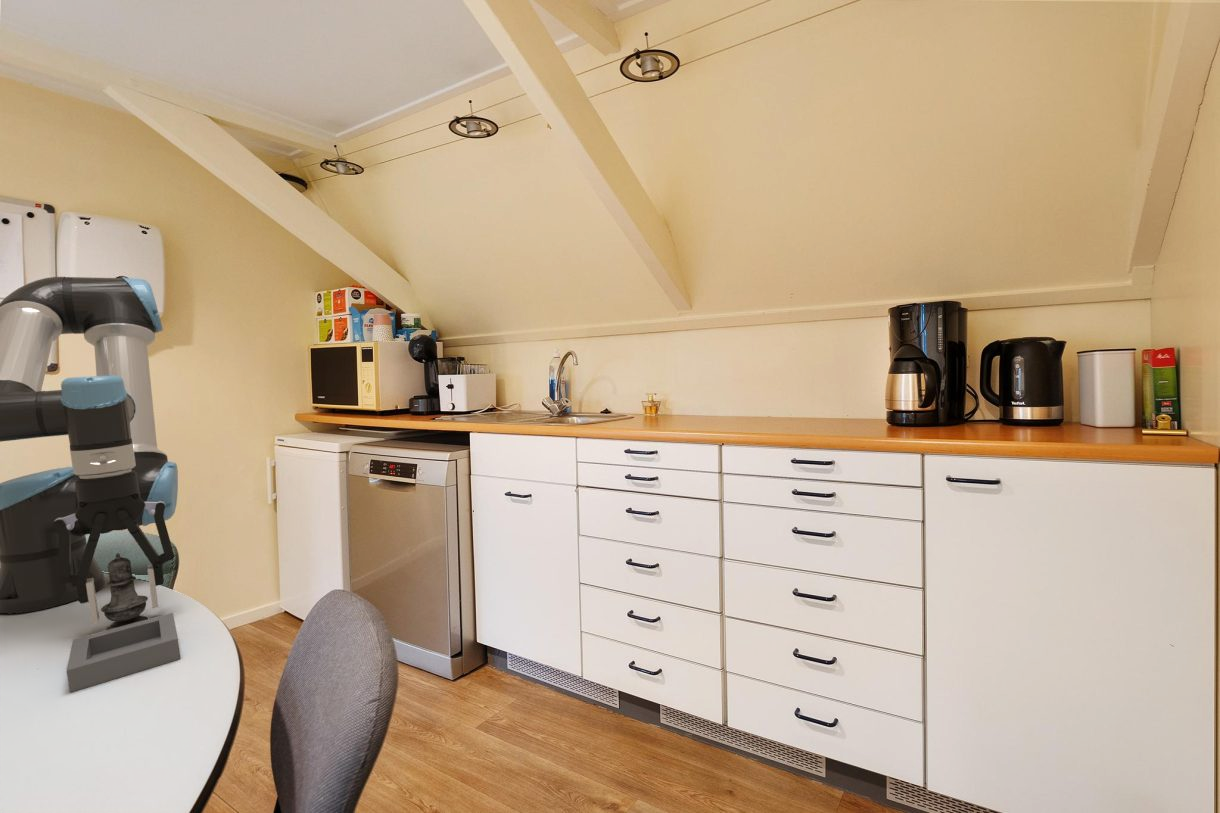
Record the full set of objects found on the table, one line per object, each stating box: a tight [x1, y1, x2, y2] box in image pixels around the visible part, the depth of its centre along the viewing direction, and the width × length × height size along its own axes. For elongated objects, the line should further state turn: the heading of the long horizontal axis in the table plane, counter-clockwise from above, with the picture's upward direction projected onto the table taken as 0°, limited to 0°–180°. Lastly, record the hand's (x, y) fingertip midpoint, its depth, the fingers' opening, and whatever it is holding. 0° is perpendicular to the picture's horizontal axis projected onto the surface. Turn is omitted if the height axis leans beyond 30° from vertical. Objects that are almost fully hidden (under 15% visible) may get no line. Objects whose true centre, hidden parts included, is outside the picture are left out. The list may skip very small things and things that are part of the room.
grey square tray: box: [66, 612, 181, 693], centre depth 84 cm, size 12×12×3 cm
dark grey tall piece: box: [100, 552, 149, 630], centre depth 95 cm, size 6×6×12 cm
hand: (126, 612), depth 95 cm, fingers open, 7 cm apart
